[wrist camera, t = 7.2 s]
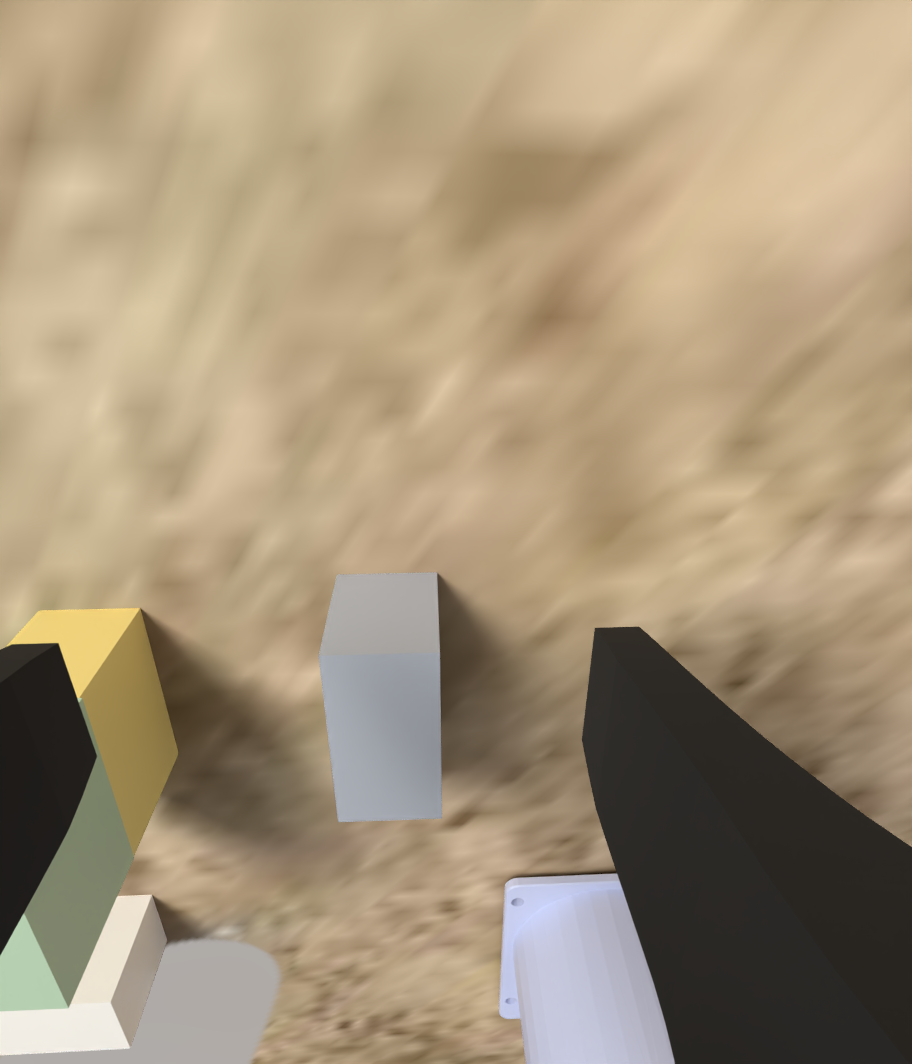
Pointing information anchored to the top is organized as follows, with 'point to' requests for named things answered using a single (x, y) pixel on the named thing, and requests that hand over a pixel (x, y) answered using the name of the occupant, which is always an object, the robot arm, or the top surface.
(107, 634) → the mustard brick
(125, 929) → the cream brick
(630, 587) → the top surface
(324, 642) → the grey brick
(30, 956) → the green brick
